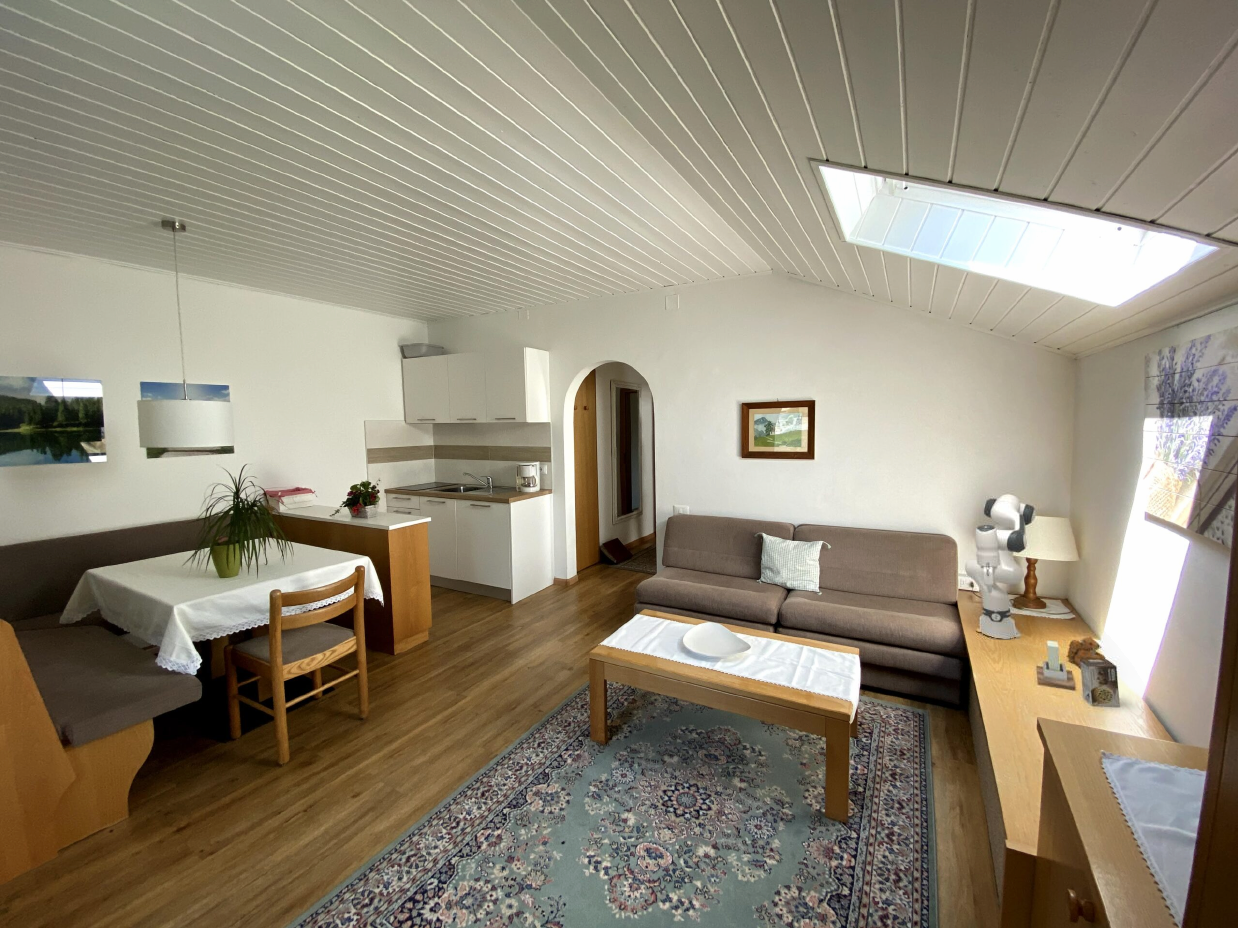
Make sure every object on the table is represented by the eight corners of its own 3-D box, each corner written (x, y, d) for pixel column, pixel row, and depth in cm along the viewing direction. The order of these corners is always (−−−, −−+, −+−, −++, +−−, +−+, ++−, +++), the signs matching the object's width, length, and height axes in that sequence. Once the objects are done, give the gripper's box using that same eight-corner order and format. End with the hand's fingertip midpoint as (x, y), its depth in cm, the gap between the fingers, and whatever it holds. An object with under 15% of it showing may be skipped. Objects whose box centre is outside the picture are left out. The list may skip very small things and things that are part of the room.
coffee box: (1109, 698, 205) (1107, 658, 204) (1120, 707, 199) (1117, 665, 198) (1081, 697, 208) (1079, 658, 207) (1091, 706, 201) (1088, 665, 201)
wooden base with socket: (1036, 668, 233) (1035, 656, 233) (1072, 673, 226) (1071, 661, 225) (1037, 684, 220) (1037, 671, 220) (1075, 690, 213) (1074, 677, 213)
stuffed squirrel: (1092, 674, 224) (1090, 644, 223) (1059, 661, 238) (1057, 632, 237) (1111, 669, 226) (1109, 640, 225) (1076, 657, 240) (1074, 629, 239)
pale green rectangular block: (1049, 671, 227) (1046, 640, 226) (1059, 673, 225) (1057, 641, 224) (1049, 677, 222) (1047, 645, 221) (1060, 679, 220) (1058, 647, 219)
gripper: (995, 566, 231) (998, 597, 232) (997, 555, 248) (999, 584, 248) (978, 565, 235) (981, 595, 236) (981, 555, 251) (983, 583, 252)
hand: (990, 589), depth 242 cm, fingers open, 8 cm apart
